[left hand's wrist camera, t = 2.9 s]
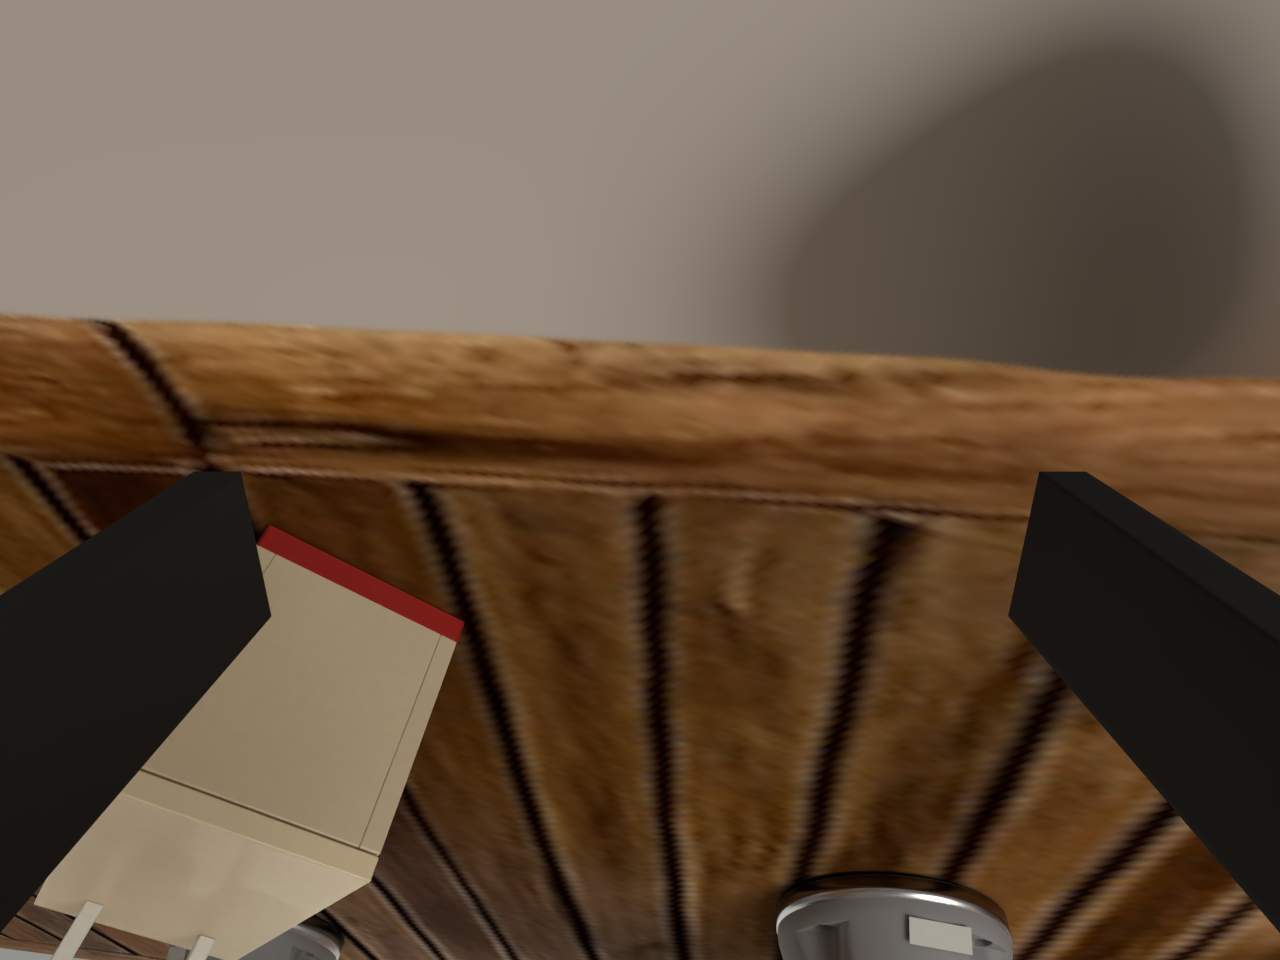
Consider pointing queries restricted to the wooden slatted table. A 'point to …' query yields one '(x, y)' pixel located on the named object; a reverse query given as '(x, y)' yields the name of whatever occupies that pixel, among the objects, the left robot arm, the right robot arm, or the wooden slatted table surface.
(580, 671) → the wooden slatted table surface
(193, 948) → the lid
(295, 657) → the chest
